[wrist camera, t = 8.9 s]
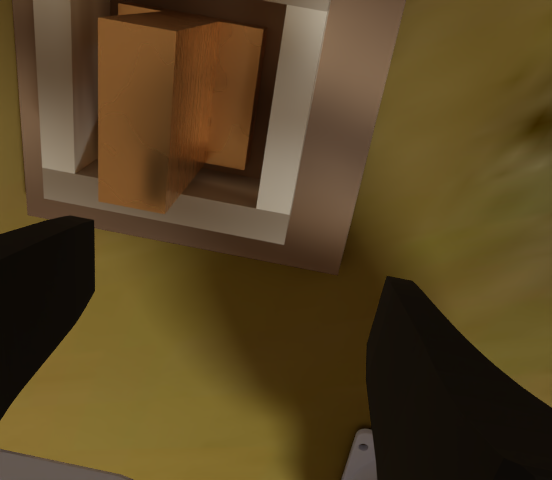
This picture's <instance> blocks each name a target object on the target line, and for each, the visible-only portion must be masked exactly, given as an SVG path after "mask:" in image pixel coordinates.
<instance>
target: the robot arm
mask: <svg viewBox="0 0 552 480" xmlns="http://www.w3.org/2000/svg"><path fill="white" fill-rule="evenodd" d="M94 291H95V248H94V220H92V219H87V218H82V217H76V216H71V215H69V216H63V217H58V218H54V219H50V220H47V221H43V222H39V223H36V224H33V225H29V226H26V227H23V228H19V229H16V230H13V231H9V232H6V233H3V234H0V420H1V419H2V417H3V416H4V414H5V412H6V411H7V409H8V408H9V406H10V405H11V404H12V402H13V401H14V399H15V398H16V397H17V395H18V394H19V393H20V391H21V390H22V389H23V388H24V386H25V385H26V384H27V383H28V382H29V380H30V379H31V378H32V377H33V375H34V374H35V373H36V372H37V371H38V369H39V368H40V367H41V366H42V364H43V363H44V362H45V361H46V360H47V358H48V357H49V356H50V355H51V353H52V352H53V351H54V350H55V349H56V347H57V346H58V345H59V344H60V342H61V341H62V340H63V339H64V337H65V336H66V335H67V334H68V332H69V331H70V330H71V329H72V327H73V326H74V325H75V324H76V322H77V321H78V319H79V317H80V316H81V314H82V312H83V311H84V309H85V308H86V306H87V304H88V302H89V300H90V299H91V297H92V295H93V293H94ZM366 384H367V393H368V402H369V410H370V418H371V427H372V430H371V429H360V430H359V431H357V433H356V435H355V438H354V441H353V444H352V447H351V451H350V454H349V457H348V460H347V463H346V466H345V469H344V473H343V476H342V479H341V480H552V408H551V407H550V406H548V405H547V404H545V403H544V402H543V401H541V400H540V399H538V398H537V397H535V396H534V395H532V394H531V393H530V392H528V391H527V390H526V389H524V388H523V387H521V386H520V385H519V384H517V383H516V382H515V381H514V380H513V379H511V378H510V377H509V376H508V375H506V374H505V373H504V372H503V371H501V370H500V369H499V368H498V367H496V366H495V365H494V364H493V363H492V362H491V361H489V360H488V359H487V358H486V357H485V356H484V355H483V354H482V353H481V352H480V351H479V350H477V349H476V348H475V347H474V346H473V345H472V344H471V343H470V342H469V341H468V340H467V339H466V338H465V337H464V336H463V335H462V334H461V333H460V332H459V331H458V330H457V329H456V328H455V327H454V326H453V325H452V324H451V323H450V321H449V320H448V319H447V318H446V317H445V316H444V315H443V314H442V313H441V312H440V310H439V309H438V308H437V307H436V306H435V305H434V304H433V303H432V301H431V300H430V299H429V298H428V297H427V296H426V295H425V294H424V292H423V291H422V290H421V289H420V288H419V287H418V286H417V285H416V284H415V283H414V282H413V281H410V280H405V279H400V278H395V277H390V276H387V277H386V280H385V284H384V287H383V291H382V294H381V298H380V301H379V304H378V308H377V311H376V315H375V318H374V322H373V325H372V328H371V332H370V335H369V339H368V342H367V356H366ZM361 444H366V445H361ZM0 480H133V479H131V478H128V477H126V476H123V475H121V474H116V473H111V472H106V471H102V470H97V469H92V468H88V467H83V466H78V465H73V464H69V463H64V462H59V461H54V460H50V459H45V458H40V457H35V456H31V455H26V454H21V453H16V452H12V451H7V450H2V449H0Z"/></svg>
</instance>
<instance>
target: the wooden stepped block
mask: <svg viewBox="0 0 552 480" xmlns="http://www.w3.org/2000/svg"><path fill="white" fill-rule="evenodd" d="M267 31H268V27H263V26H258V25H252V24H247V23H241V22H236V21H230V20H224V19H219V18H213V17H208V16H202V15H197V14H191V13H186V12H180V11H175V10H169V9H163V8H158V7H152V6H147V5H141V4H136V3H118V15H116V16H106V17H98V201H99V202H104V203H109V204H114V205H119V206H124V207H130V208H135V209H140V210H145V211H150V212H155V213H161V214H166V212H167V211H168V210H169V208H170V207H171V206H172V205H173V203H174V202H175V201H176V200H177V198H178V197H179V196H180V195H181V193H182V192H183V191H184V190H185V188H186V187H187V186H188V185H189V183H190V182H191V181H192V180H193V178H194V177H195V176H196V174H197V173H198V172H199V171H200V169H201V168H202V167H203V166H204V164H205V163H208V164H214V165H219V166H224V167H230V168H235V169H240V170H245V168H246V166H247V164H248V163H249V160H250V153H251V146H252V139H253V131H254V124H255V117H256V110H257V103H258V96H259V88H260V81H261V74H262V67H263V60H264V53H265V45H266V38H267Z"/></svg>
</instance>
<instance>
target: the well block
mask: <svg viewBox="0 0 552 480" xmlns="http://www.w3.org/2000/svg"><path fill="white" fill-rule="evenodd" d="M405 2H406V0H12V4H13V18H14V31H15V45H16V59H17V73H18V87H19V101H20V114H21V128H22V142H23V156H24V170H25V184H26V197H27V211H28V215H30V216H35V217H40V218H46V219H54V218H58V217H63V216H69V215H71V216H76V217H82V218H87V219H92V220H94V228H97V229H102V230H107V231H112V232H118V233H123V234H128V235H133V236H138V237H143V238H148V239H153V240H159V241H164V242H169V243H174V244H179V245H184V246H189V247H195V248H200V249H205V250H210V251H215V252H220V253H225V254H231V255H236V256H241V257H246V258H251V259H256V260H261V261H266V262H272V263H277V264H282V265H287V266H292V267H297V268H302V269H308V270H313V271H318V272H323V273H328V274H333V275H338V272H339V268H340V264H341V260H342V256H343V252H344V248H345V244H346V240H347V236H348V232H349V228H350V224H351V220H352V216H353V212H354V208H355V204H356V200H357V196H358V192H359V188H360V184H361V180H362V176H363V172H364V168H365V164H366V159H367V155H368V151H369V147H370V143H371V139H372V135H373V131H374V127H375V123H376V119H377V115H378V111H379V107H380V103H381V99H382V95H383V91H384V87H385V83H386V79H387V75H388V71H389V67H390V63H391V59H392V55H393V51H394V47H395V43H396V38H397V34H398V30H399V26H400V22H401V18H402V14H403V10H404V6H405ZM118 3H136V4H141V5H147V6H152V7H158V8H163V9H169V10H175V11H180V12H186V13H191V14H197V15H202V16H208V17H213V18H219V19H224V20H230V21H236V22H241V23H247V24H252V25H258V26H263V27H268V31H267V38H266V45H265V53H264V60H263V67H262V74H261V81H260V88H259V96H258V103H257V110H256V117H255V124H254V131H253V139H252V146H251V153H250V160H249V163H248V164H247V166H246V168H245V170H240V169H235V168H230V167H224V166H219V165H214V164H208V163H205V164H204V166H203V167H202V168H201V169H200V171H199V172H198V173H197V174H196V176H195V177H194V178H193V180H192V181H191V182H190V183H189V185H188V186H187V187H186V188H185V190H184V191H183V192H182V193H181V195H180V196H179V197H178V198H177V200H176V201H175V202H174V203H173V205H172V206H171V207H170V208H169V210H168V211H167V212H166V214H161V213H155V212H150V211H145V210H140V209H135V208H130V207H124V206H119V205H114V204H109V203H104V202H99V201H98V17H106V16H116V15H118Z"/></svg>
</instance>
